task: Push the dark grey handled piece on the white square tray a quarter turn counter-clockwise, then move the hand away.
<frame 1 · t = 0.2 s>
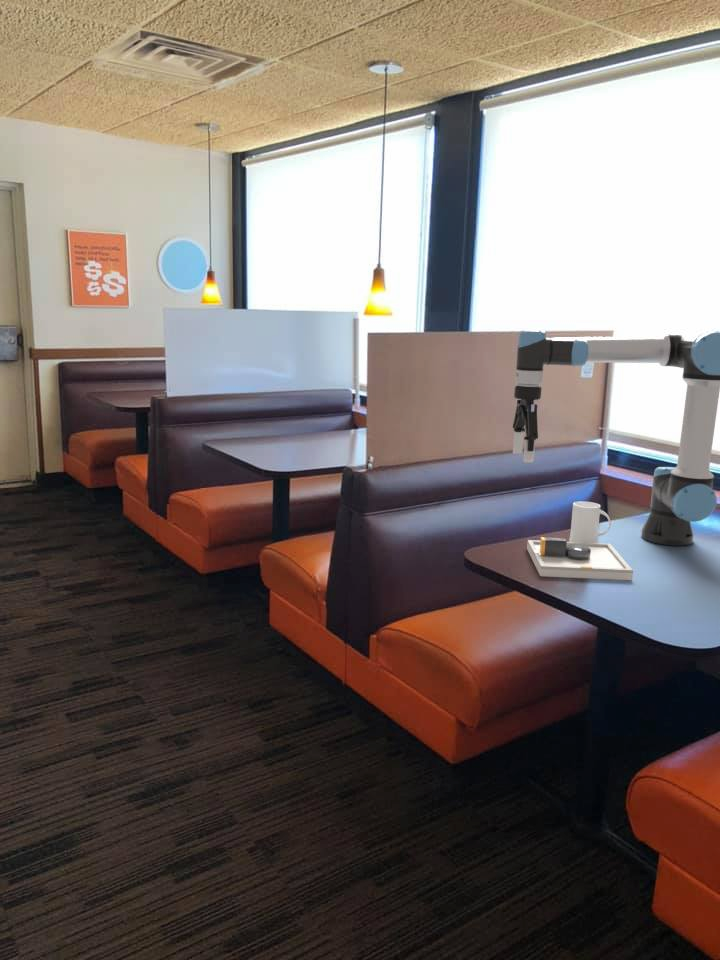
hand: (522, 457, 224), 27 cm above the table, fingers open, 13 cm apart
mug: (588, 543, 234), on the table
dark grey handled piece: (565, 547, 213), point 5 cm above the table, hinge at 0.0°
white square tray: (576, 563, 214), on the table
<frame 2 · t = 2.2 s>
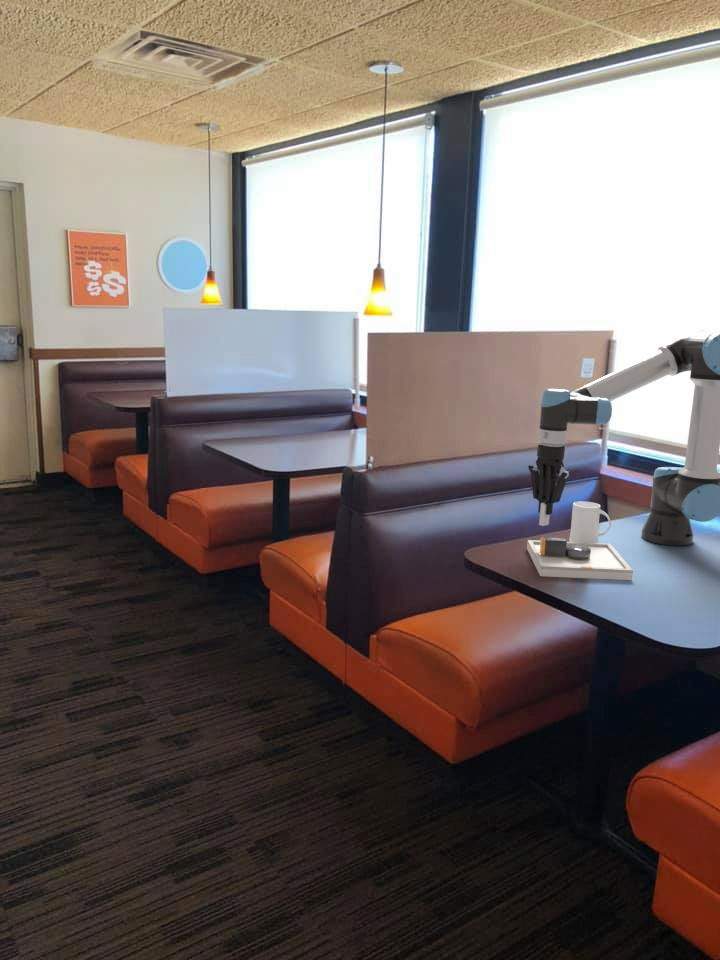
hand: (543, 524, 220), 9 cm above the table, fingers closed
nothing on the table moved.
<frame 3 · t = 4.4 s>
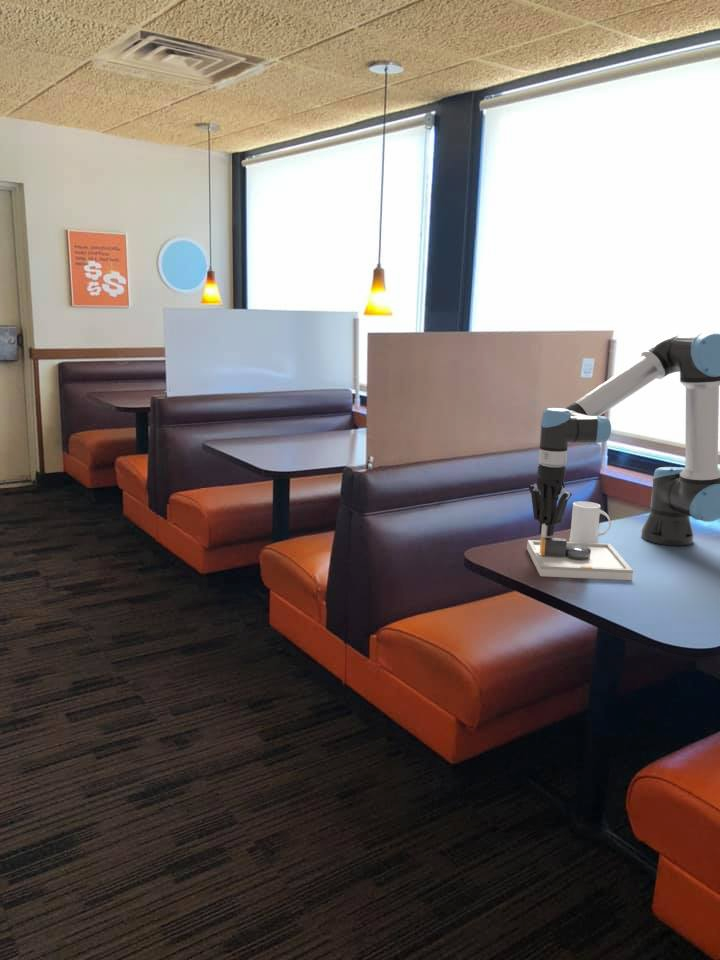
hand: (545, 545, 216), 4 cm above the table, fingers closed
dark grey handled piece: (565, 547, 213), point 5 cm above the table, hinge at 0.3°, touching gripper
everything else where it was.
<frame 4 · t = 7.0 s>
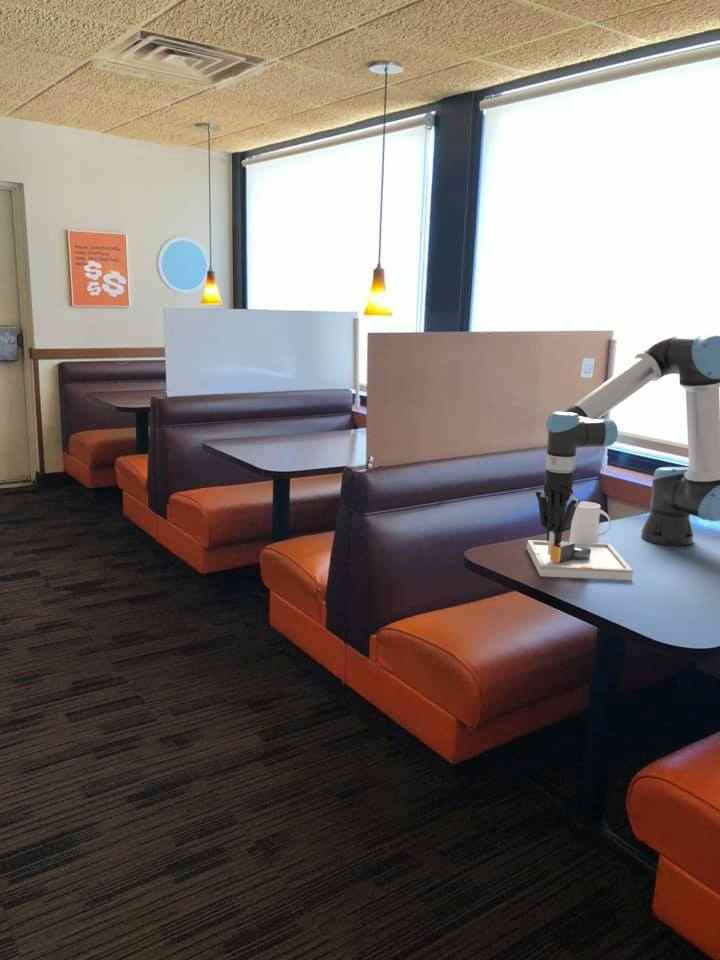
hand: (552, 553, 210), 4 cm above the table, fingers closed
dark grey handled piece: (570, 549, 211), point 5 cm above the table, hinge at 41.3°, touching gripper
everything else where it was.
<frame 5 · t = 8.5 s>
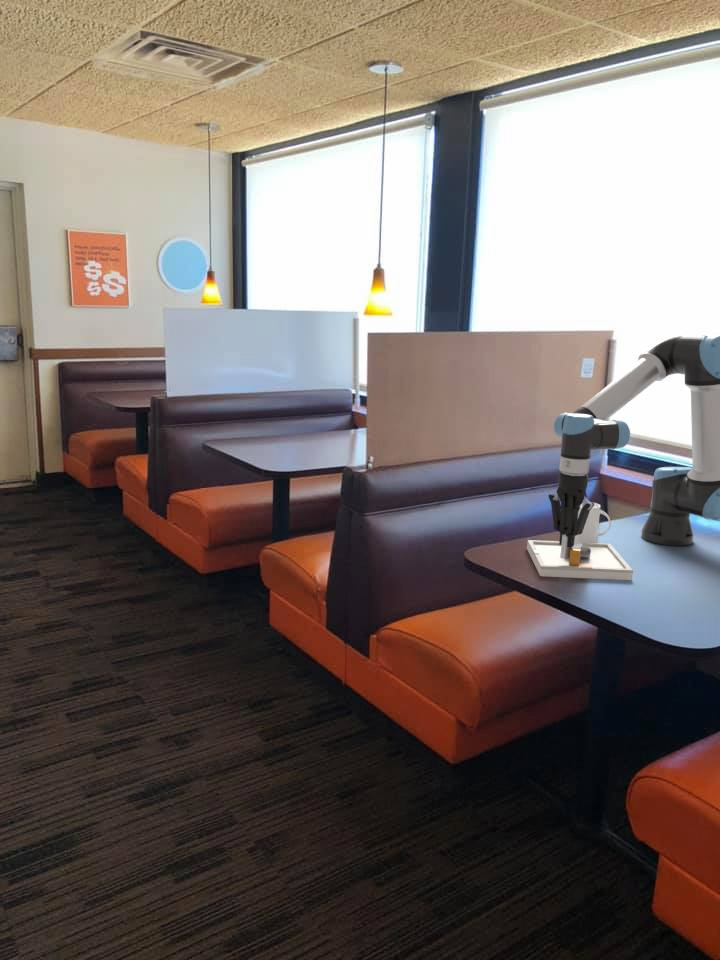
hand: (565, 557, 207), 4 cm above the table, fingers closed
dark grey handled piece: (576, 551, 210), point 5 cm above the table, hinge at 73.5°, touching gripper
everything else where it was.
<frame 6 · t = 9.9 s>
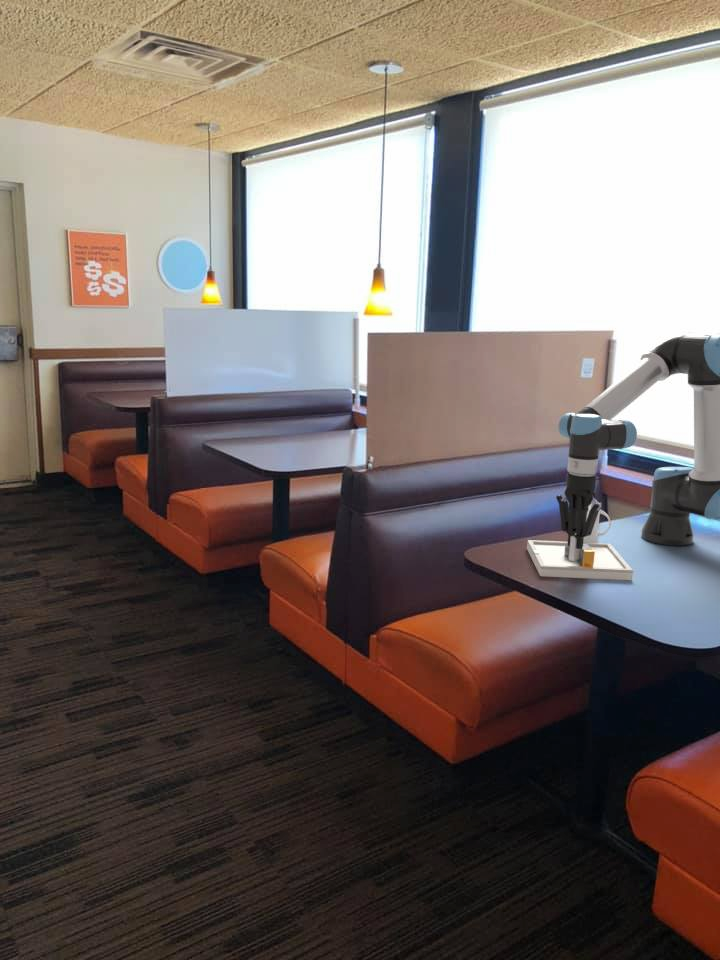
hand: (573, 559, 205), 4 cm above the table, fingers closed
dark grey handled piece: (581, 551, 210), point 5 cm above the table, hinge at 94.7°
everything else where it was.
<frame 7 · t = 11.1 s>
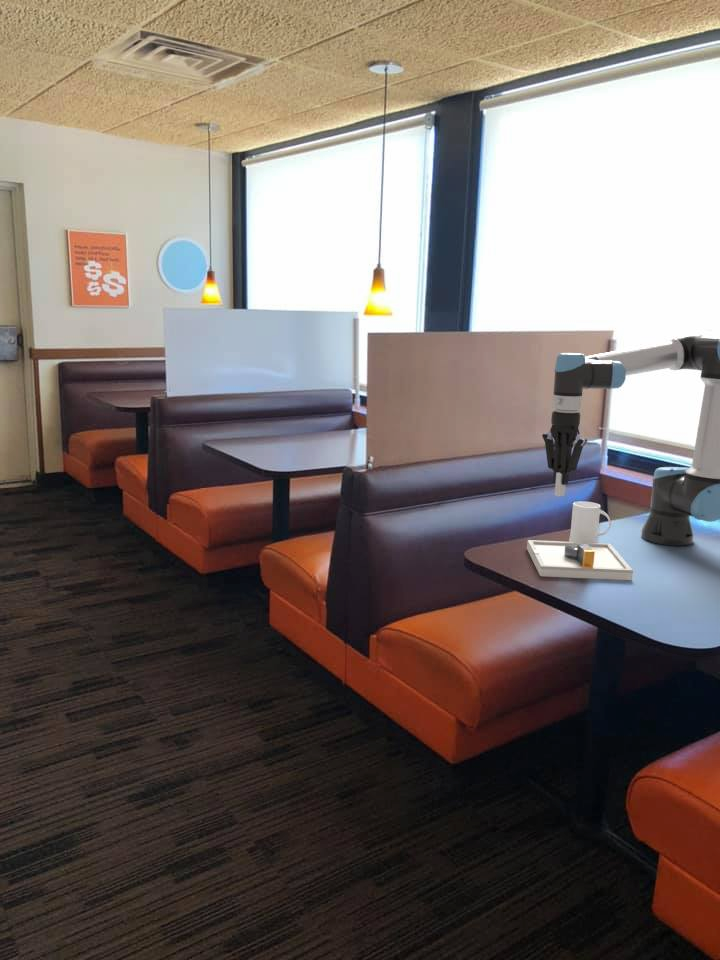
hand: (559, 495, 212), 19 cm above the table, fingers closed
nothing on the table moved.
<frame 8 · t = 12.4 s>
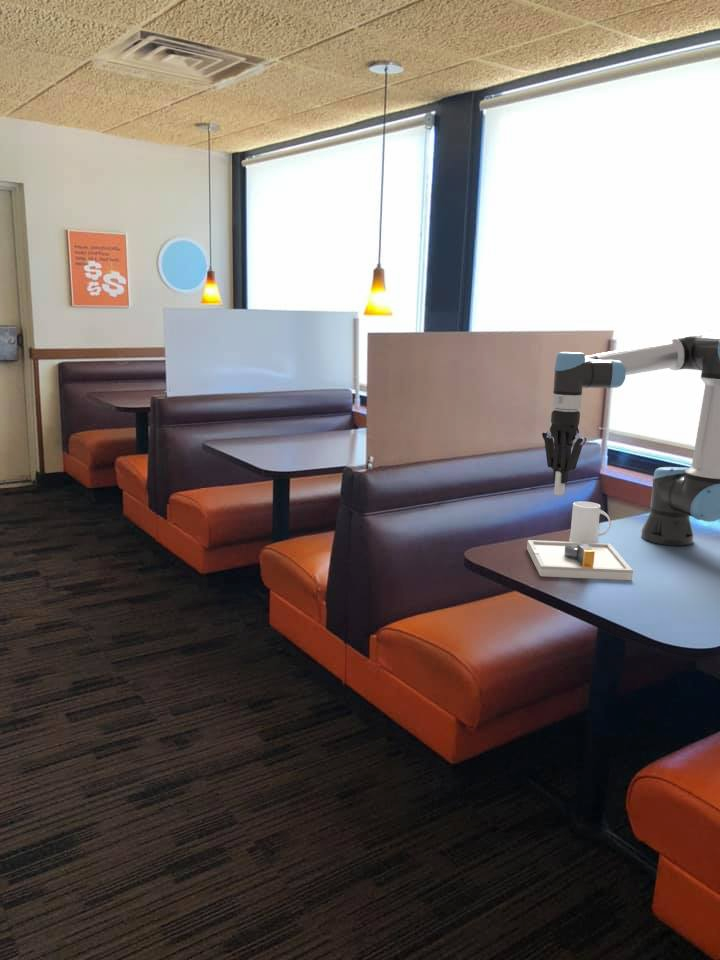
hand: (559, 494, 212), 19 cm above the table, fingers closed
nothing on the table moved.
at the end: dark grey handled piece at +95° (first picture: +0°) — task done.
